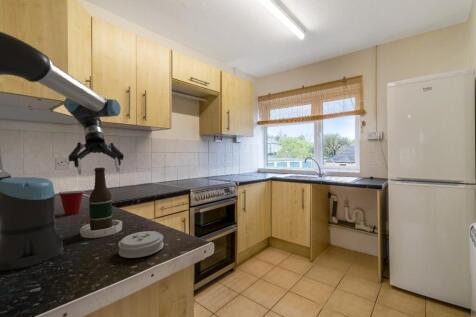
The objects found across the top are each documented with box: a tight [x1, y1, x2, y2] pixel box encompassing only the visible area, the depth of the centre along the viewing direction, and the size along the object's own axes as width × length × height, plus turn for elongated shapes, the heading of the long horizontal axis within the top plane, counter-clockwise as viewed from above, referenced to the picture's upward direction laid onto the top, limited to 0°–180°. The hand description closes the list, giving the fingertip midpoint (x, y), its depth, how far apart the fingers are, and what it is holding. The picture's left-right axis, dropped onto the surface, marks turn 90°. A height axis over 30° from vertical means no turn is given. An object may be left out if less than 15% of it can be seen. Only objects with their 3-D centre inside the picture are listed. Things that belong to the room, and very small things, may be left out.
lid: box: [117, 230, 164, 259], centre depth 68 cm, size 13×13×5 cm
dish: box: [79, 219, 123, 239], centre depth 86 cm, size 14×14×2 cm
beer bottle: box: [88, 166, 114, 231], centre depth 86 cm, size 8×8×24 cm
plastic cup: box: [58, 190, 85, 216], centre depth 115 cm, size 11×11×12 cm
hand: (100, 171), depth 92 cm, fingers open, 13 cm apart
